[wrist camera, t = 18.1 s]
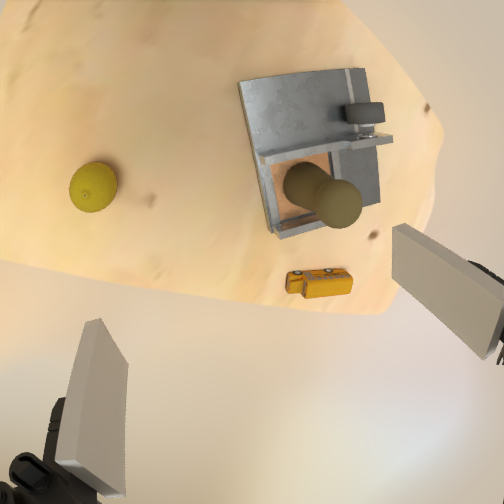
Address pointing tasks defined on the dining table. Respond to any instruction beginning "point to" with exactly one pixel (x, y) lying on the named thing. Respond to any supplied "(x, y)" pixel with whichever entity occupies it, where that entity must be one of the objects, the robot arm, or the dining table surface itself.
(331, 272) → the toy bus
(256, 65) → the dining table surface
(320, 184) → the olive brown pawn
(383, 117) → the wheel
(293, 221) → the plate
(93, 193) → the lemon
